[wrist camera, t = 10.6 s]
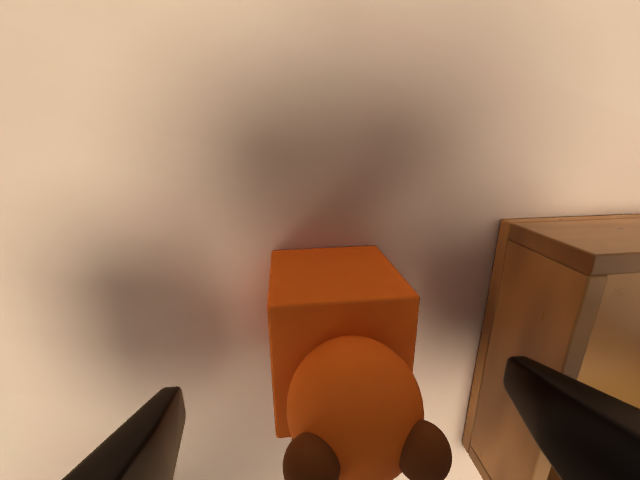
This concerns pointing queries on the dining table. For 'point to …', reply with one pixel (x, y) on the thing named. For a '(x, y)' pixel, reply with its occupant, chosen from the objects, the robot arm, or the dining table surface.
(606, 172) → the dining table surface
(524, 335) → the wooden box
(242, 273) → the dining table surface
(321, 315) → the toy bear
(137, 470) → the robot arm
